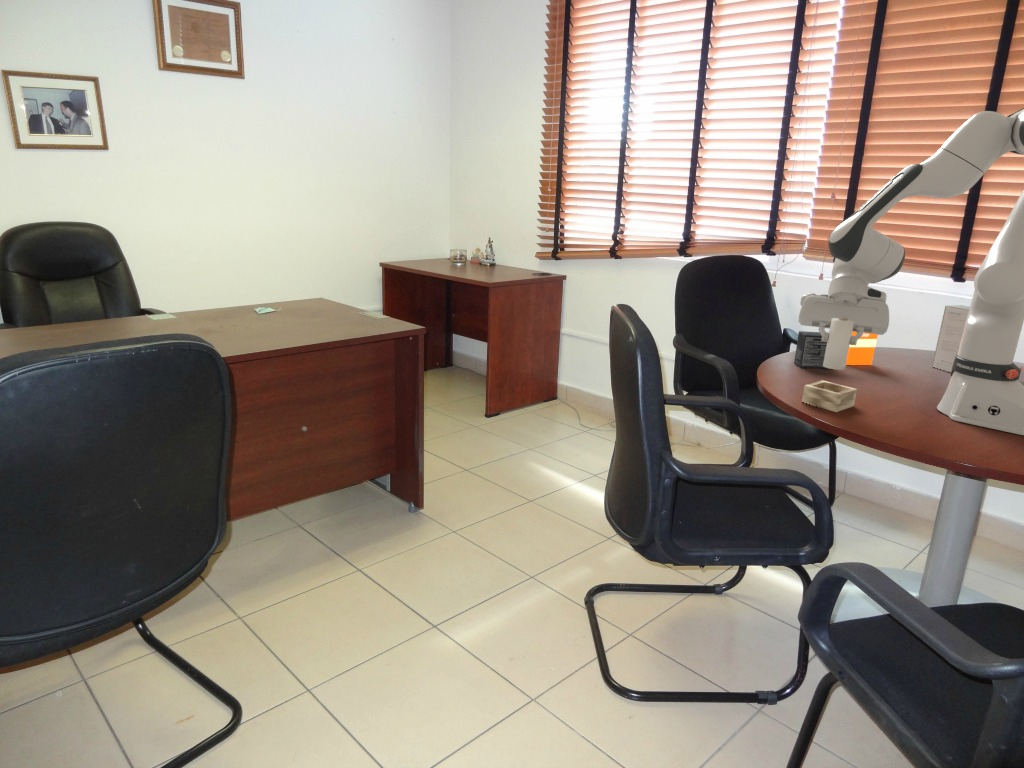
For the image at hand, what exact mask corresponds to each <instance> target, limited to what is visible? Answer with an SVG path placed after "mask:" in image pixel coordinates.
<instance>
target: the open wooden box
mask: <svg viewBox="0 0 1024 768" xmlns="http://www.w3.org/2000/svg"><path fill="white" fill-rule="evenodd" d="M857 392H858V388H855V387H850V386H847V385H842V384H839V383H835V382H830V381H827V380H823V379H822V380H819V381H815V382H812V383H809V384H804V386H803V393H802V399H801V403H802V402H804V403H803V404H806V403H807V404H806V405H809V404H810V406H813V407H816V406H817V408H820V409H824V410H827V411H831V412H834V413H838V412H841V411H844V410H846V409H850V408H853V407H854V406H855V401H856V398H857V397H856V396H857V394H858V393H857Z"/></svg>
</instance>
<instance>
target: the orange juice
mask: <svg viewBox="0 0 1024 768" xmlns="http://www.w3.org/2000/svg"><path fill="white" fill-rule="evenodd" d="M856 334H857V332H853V331H852V336H855V335H856ZM878 336H879V335H878V334H870V333H863V336H862V337H860V338H859V339H858V340H857V344H856V345H849V350H848V355H847V360H846V365H873V360H874V355H875V349H876V346H877V343H878V342H877V341H878ZM846 365H845V366H846Z"/></svg>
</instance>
